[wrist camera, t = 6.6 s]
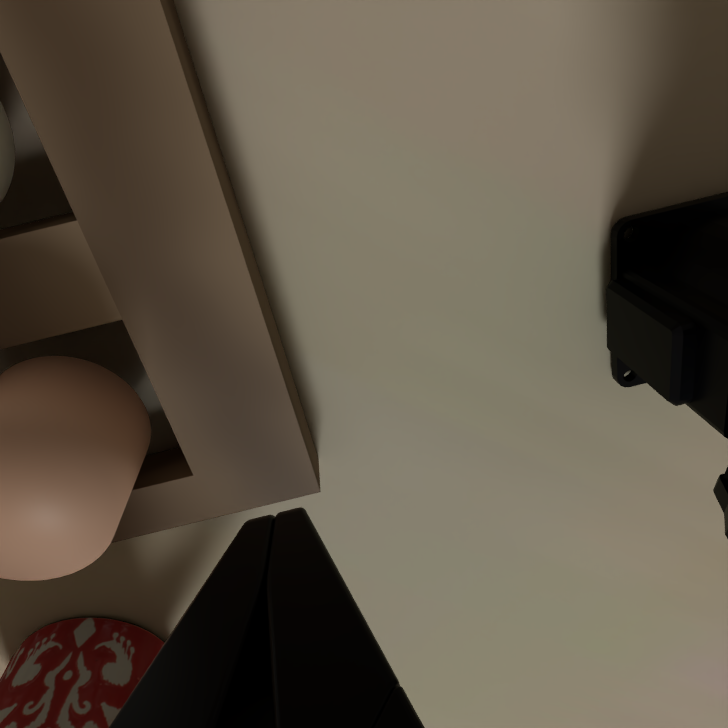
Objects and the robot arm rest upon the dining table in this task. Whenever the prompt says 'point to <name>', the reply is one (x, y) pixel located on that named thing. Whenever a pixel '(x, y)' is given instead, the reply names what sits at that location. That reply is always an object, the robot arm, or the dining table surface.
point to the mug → (75, 674)
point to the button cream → (6, 153)
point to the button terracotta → (64, 463)
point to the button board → (151, 255)
